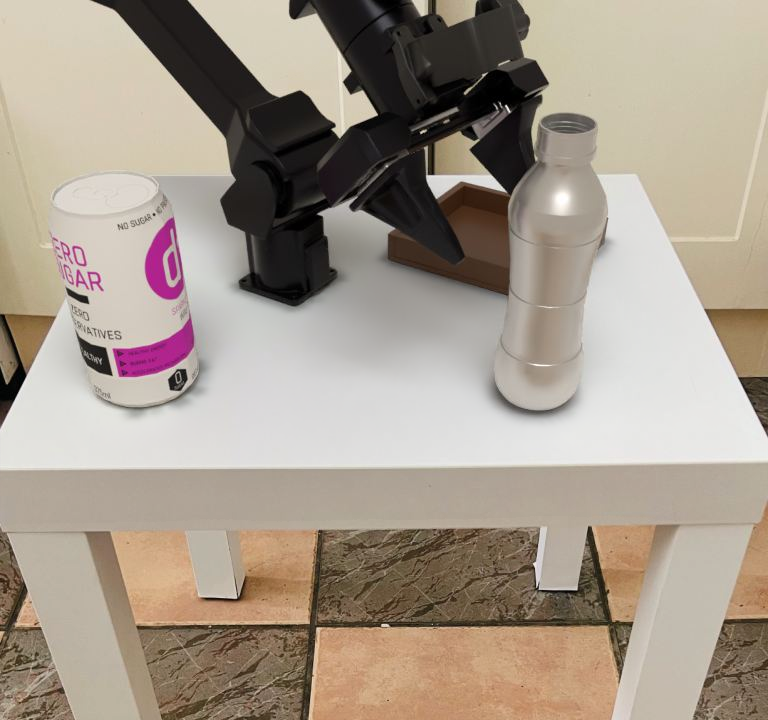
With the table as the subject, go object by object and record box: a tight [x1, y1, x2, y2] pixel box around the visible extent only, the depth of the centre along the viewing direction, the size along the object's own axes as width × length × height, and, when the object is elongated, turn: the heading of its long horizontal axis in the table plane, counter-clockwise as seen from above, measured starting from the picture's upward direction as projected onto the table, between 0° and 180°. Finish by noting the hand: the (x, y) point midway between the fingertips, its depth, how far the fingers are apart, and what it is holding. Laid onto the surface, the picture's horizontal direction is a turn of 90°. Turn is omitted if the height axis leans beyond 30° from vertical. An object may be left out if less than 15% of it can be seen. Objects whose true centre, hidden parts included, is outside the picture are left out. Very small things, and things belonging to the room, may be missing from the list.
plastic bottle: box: [493, 111, 609, 411], centre depth 62 cm, size 6×7×20 cm
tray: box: [387, 180, 609, 296], centre depth 85 cm, size 16×14×2 cm
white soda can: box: [46, 169, 200, 408], centre depth 66 cm, size 8×8×15 cm
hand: (501, 237), depth 63 cm, fingers open, 9 cm apart
